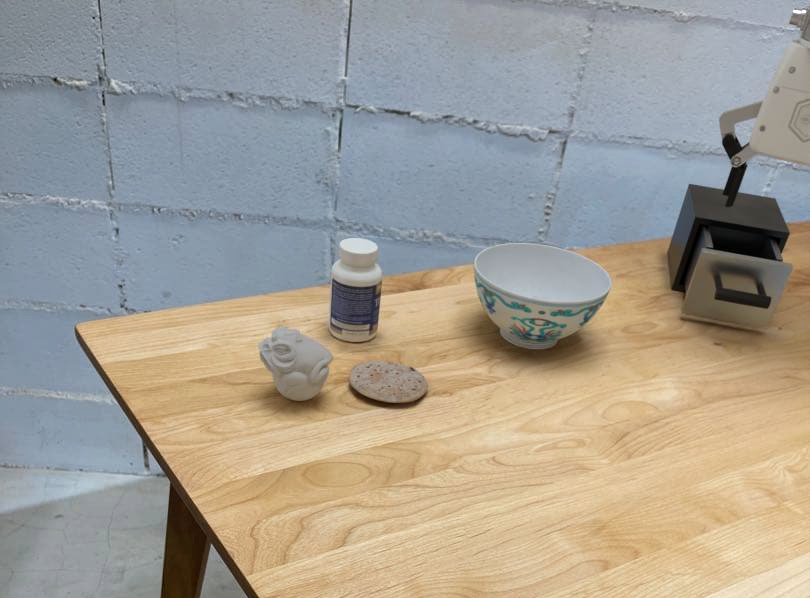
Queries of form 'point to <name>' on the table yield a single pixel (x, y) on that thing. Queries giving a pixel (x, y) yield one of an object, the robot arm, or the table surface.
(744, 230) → the cabinet
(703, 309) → the drawer
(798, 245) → the table surface
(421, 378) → the flatbread
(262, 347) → the frog figurine
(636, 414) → the table surface
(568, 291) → the chinaware
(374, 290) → the pill bottle
